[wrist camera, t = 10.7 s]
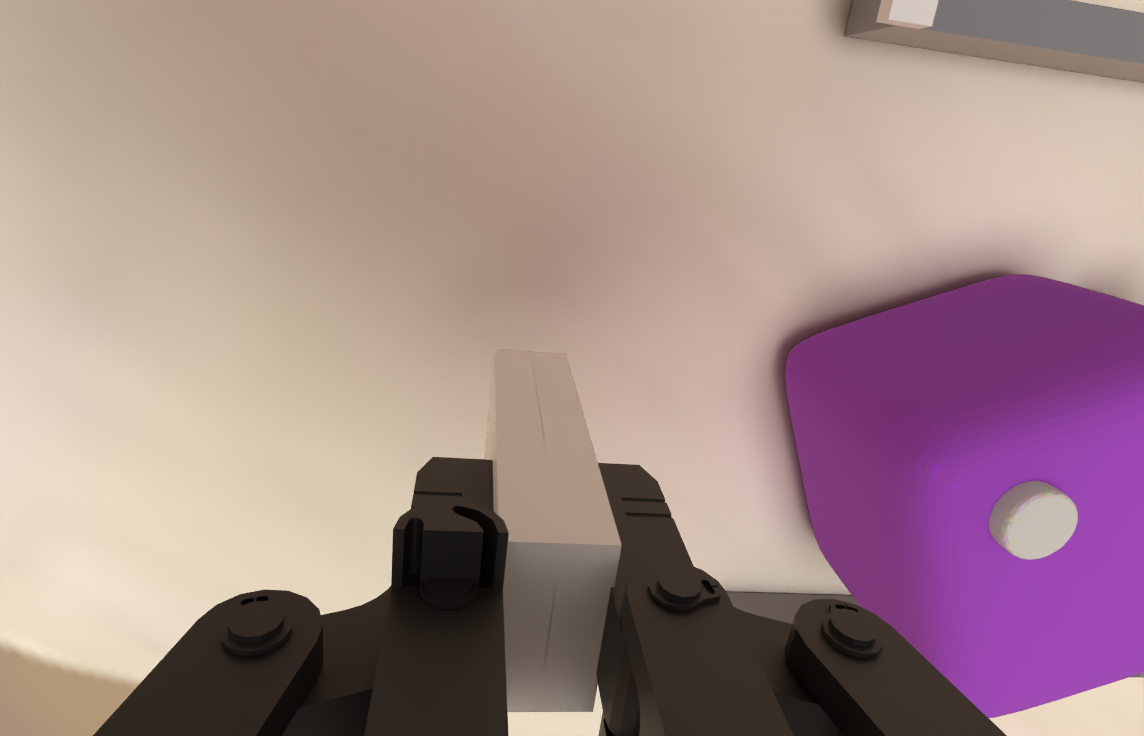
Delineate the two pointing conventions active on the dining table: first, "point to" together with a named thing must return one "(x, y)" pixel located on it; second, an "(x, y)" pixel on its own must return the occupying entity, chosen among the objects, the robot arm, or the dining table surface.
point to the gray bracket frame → (1002, 32)
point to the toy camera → (986, 481)
